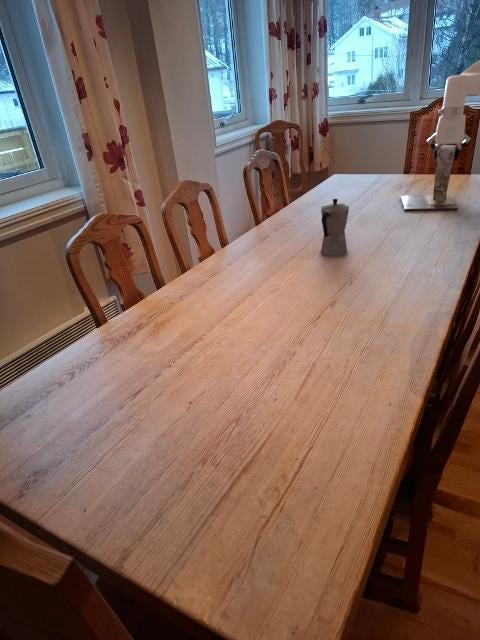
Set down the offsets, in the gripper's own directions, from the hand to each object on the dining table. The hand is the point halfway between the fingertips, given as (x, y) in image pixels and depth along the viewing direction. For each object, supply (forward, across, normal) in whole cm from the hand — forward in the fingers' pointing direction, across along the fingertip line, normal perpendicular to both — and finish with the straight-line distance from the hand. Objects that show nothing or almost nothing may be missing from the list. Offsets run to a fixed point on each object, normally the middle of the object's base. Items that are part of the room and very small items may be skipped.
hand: (445, 159), depth 175 cm
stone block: (+15, 0, 0) cm, 15 cm away
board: (+17, -5, -3) cm, 18 cm away
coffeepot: (+17, -42, -58) cm, 73 cm away
